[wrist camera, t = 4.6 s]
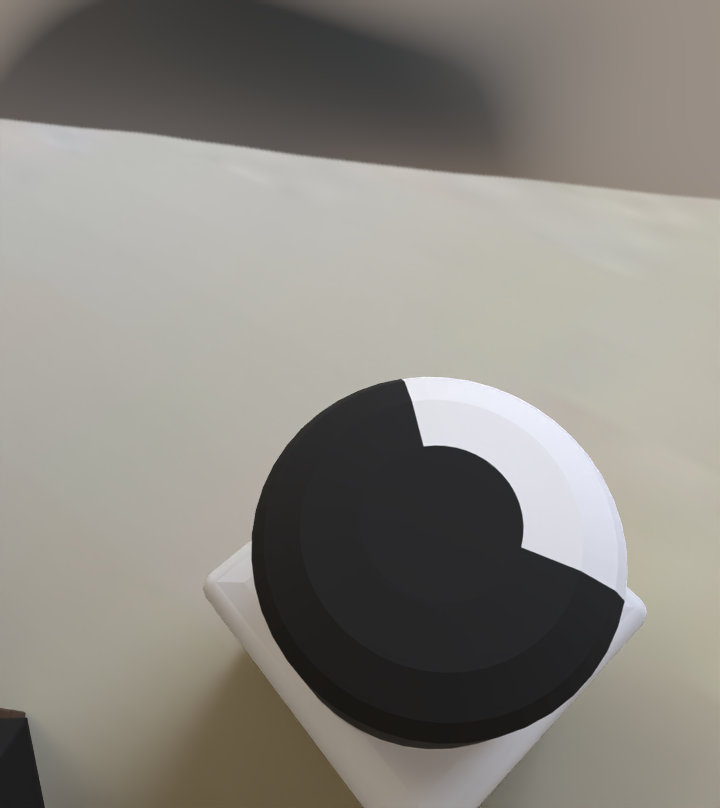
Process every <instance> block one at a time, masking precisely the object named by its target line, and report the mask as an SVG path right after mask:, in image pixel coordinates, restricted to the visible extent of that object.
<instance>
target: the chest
mask: <svg viewBox="0 0 720 808" xmlns="http://www.w3.org/2000/svg"><path fill="white" fill-rule="evenodd" d="M0 718H25V712H22V711H16V710H8V709H3V708H0Z"/></svg>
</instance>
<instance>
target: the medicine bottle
mask: <svg viewBox="0 0 720 808" xmlns="http://www.w3.org/2000/svg"><path fill="white" fill-rule="evenodd" d="M627 576H628V572H627V550H626V544H625V538H624V533H623V528H622V523H621V520H620V517H619V514H618V511H617V508H616V505H615V502H614V499H613V497H612V495H611V493H610V491H609V489H608V487H607V485H606V483H605V481H604V479H603V477H602V475H601V474H600V472H599V471H598V469H597V468H596V466H595V465H594V463H593V462H592V460H591V459H590V457H589V456H588V455H587V454H586V452H585V451H584V450H583V449H582V448H581V447H580V445H579V444H578V443H577V442H576V441H575V440H574V438H573V437H572V436H570V435H569V434H568V433H567V432H566V431H565V430H564V429H563V428H562V427H561V426H559V425H558V424H557V423H556V422H555V421H554V420H552V419H551V418H550V417H548V416H547V415H545V414H544V413H542V412H541V411H540V410H538V409H537V408H535V407H534V406H532V405H530V404H528V403H526V402H525V401H523V400H521V399H519V398H517V397H515V396H513V395H511V394H508V393H506V392H503V391H501V390H498V389H496V388H493V387H490V386H487V385H483V384H479V383H475V382H472V381H467V380H460V379H453V378H445V377H417V378H406V379H399V380H394V381H389V382H385V383H380V384H377V385H374V386H371V387H368V388H365V389H362V390H360V391H357V392H355V393H353V394H351V395H349V396H347V397H345V398H343V399H341V400H339V401H337V402H336V403H334V404H333V405H331V406H330V407H328V408H327V409H325V410H324V411H322V412H320V413H319V414H318V415H317V416H316V417H314V418H313V419H312V420H311V421H310V422H309V423H307V424H306V425H305V426H304V427H303V428H302V429H301V430H300V431H299V432H298V433H297V434H296V436H295V437H294V438H293V439H292V440H291V441H290V442H289V444H288V445H287V446H286V447H285V449H284V450H283V452H282V453H281V455H280V456H279V458H278V459H277V461H276V462H275V464H274V466H273V468H272V470H271V472H270V474H269V476H268V478H267V480H266V482H265V484H264V486H263V489H262V493H261V496H260V499H259V502H258V505H257V508H256V513H255V519H254V525H253V531H252V540H251V541H249V542H248V543H247V544H246V545H244V546H243V547H242V548H241V549H239V550H238V551H237V552H236V553H235V554H233V555H232V556H231V557H230V558H228V559H227V560H226V561H225V562H223V563H222V564H221V565H220V566H218V567H217V568H216V569H215V570H213V571H212V572H211V573H210V574H209V575H208V576H207V578H206V579H205V582H204V588H203V590H204V593H205V596H206V598H207V599H208V601H209V602H210V603H211V605H212V606H213V607H214V609H215V610H216V611H217V613H218V614H219V615H220V617H221V618H222V619H223V621H224V622H225V623H226V625H227V626H228V627H229V629H230V630H231V631H232V633H233V634H234V635H235V637H236V638H237V639H238V641H239V642H240V643H241V645H242V646H243V647H244V649H245V650H246V651H247V653H248V654H249V655H250V657H251V658H252V659H253V661H254V662H255V663H256V665H257V666H258V667H259V669H260V670H261V671H262V673H263V674H264V675H265V677H266V678H267V679H268V681H269V682H270V683H271V685H272V686H273V687H274V689H275V690H276V691H277V693H278V694H279V695H280V697H281V698H282V700H283V701H284V702H285V704H286V705H287V706H288V708H289V709H290V710H291V712H292V713H293V714H294V716H295V717H296V718H297V720H298V721H299V722H300V724H301V725H302V726H303V728H304V729H305V730H306V732H307V733H308V734H309V736H310V737H311V738H312V740H313V741H314V742H315V744H316V745H317V746H318V748H319V749H320V750H321V752H322V753H323V754H324V756H325V757H326V758H327V760H328V761H329V762H330V764H331V765H332V766H333V768H334V769H335V770H336V772H337V773H338V774H339V776H340V777H341V778H342V780H343V781H344V782H345V784H346V785H347V786H348V788H349V789H350V790H351V792H352V793H353V794H354V796H355V797H356V798H357V800H358V801H359V802H360V804H361V805H362V806H363V808H478V807H479V805H480V804H481V803H482V802H483V801H484V800H485V799H486V798H487V797H488V795H489V794H490V793H491V792H492V791H493V790H494V789H495V788H496V787H497V785H498V784H499V783H500V782H501V781H502V780H503V779H504V778H505V777H506V775H507V774H508V773H509V772H510V771H511V770H512V769H513V768H514V767H515V765H516V764H517V763H518V762H519V761H520V760H521V759H522V758H523V757H524V756H525V754H526V753H527V752H528V751H529V750H530V749H531V748H532V747H533V746H534V744H535V743H536V742H537V741H538V740H539V739H540V738H541V737H542V736H543V734H544V733H545V732H546V731H547V730H548V729H549V728H550V727H551V726H552V724H553V723H554V722H555V721H556V720H557V719H558V718H559V717H560V716H561V714H562V713H563V712H564V711H565V710H566V709H567V708H568V707H569V706H570V705H571V703H572V702H573V701H574V700H575V699H576V698H577V697H578V696H579V695H580V693H581V692H582V691H583V690H584V689H585V688H586V687H587V686H588V685H589V683H590V682H591V681H592V680H593V679H594V678H595V677H596V676H597V675H598V673H599V672H600V671H601V670H602V669H603V668H604V667H605V666H606V665H607V664H608V662H609V661H610V660H611V659H612V658H613V657H614V656H615V655H616V654H617V652H618V651H619V650H620V649H621V648H622V647H623V646H624V645H625V644H626V642H627V641H628V640H629V639H630V638H631V637H632V636H633V635H634V634H635V632H636V631H637V630H638V629H639V628H640V627H641V626H642V625H643V622H644V620H645V618H646V615H647V613H646V606H645V605H644V604H643V602H642V601H641V599H640V598H639V597H637V596H636V595H635V594H634V593H633V592H632V591H631V590H630V589H629V588H628V587H627Z"/></svg>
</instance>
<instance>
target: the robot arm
mask: <svg viewBox="0 0 720 808" xmlns="http://www.w3.org/2000/svg"><path fill="white" fill-rule="evenodd" d="M0 808H45V807H44V801H43V796H42V791H41V786H40V781H39V776H38V771H37V766H36V761H35V756H34V751H33V746H32V741H31V736H30V730H29V725H28V720H27V718H0Z"/></svg>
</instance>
